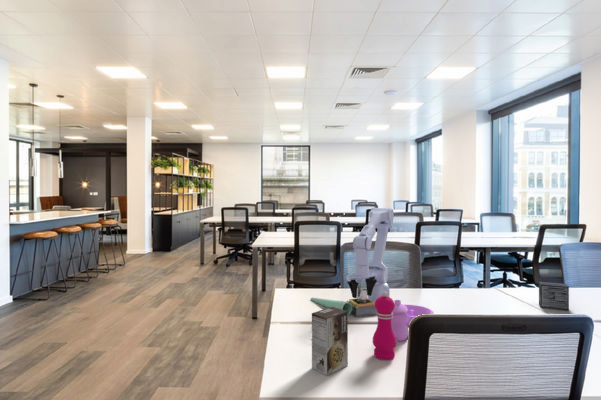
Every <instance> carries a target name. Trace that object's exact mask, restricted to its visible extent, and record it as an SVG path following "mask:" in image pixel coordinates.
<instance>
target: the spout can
mask: <svg viewBox="0 0 601 400" xmlns="http://www.w3.org/2000/svg"><path fill="white" fill-rule="evenodd" d="M356 299H357V304H363V303H367V299H368V295H367V287H361V285H359V284H358V287H357V298H356Z"/></svg>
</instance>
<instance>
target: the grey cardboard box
mask: <svg viewBox="0 0 601 400" xmlns="http://www.w3.org/2000/svg"><path fill="white" fill-rule="evenodd" d="M348 328H349V327H348V315H347V311H344V310H341V309H339V308H335V307H329V308H326V307H325V308H323V309H321V310H318V311H315V312H312V313H311V369H312V370H315V371H316V372H319V373H321V374H323V375H325V376H329V375H331V374H333V373H335V372H337V371H339V370H341V369H344V368H345V367H347V366H348V365H349V361H348V359H349V358H348V354H349V353H348V352H349V351H348V349H349V348H348V345H349V344H348V342H349V341H348V340H349V339H348V335H349V333H348Z"/></svg>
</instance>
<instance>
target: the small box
mask: <svg viewBox="0 0 601 400" xmlns="http://www.w3.org/2000/svg"><path fill="white" fill-rule="evenodd" d="M569 291H570V286H569V285H568V284H567V283H557V282H546V281H545V282H544V281H538V305H539V308H541V309H550V310H559V311H560V310H561V311H570V305H569V304H570V292H569Z"/></svg>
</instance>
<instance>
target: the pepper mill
mask: <svg viewBox="0 0 601 400" xmlns="http://www.w3.org/2000/svg"><path fill="white" fill-rule="evenodd" d="M394 303H395V302H394V300H393V299H392V297H391V296H389V297H388V294H387V292H385V291H384V292H382V296H380V297H378V298H377V299H376V301H375V308H376V309H377V312H376V313H377V315H375V317H376V318H377V326H376V329H375V331H374V333H373V336H372V344H373V346H374V347H375V348H374V349H373V355H374V357H375V358H377V359H379V360H383V361H391V360H393V359H394V358H395V356H396V355H395V354H396V352H395V348H396V347H397V341H396V337H395V335H394V333H393V330H392V326H391V319H392V318H393V313H392V311H393V310H394V308H395V304H394Z"/></svg>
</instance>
